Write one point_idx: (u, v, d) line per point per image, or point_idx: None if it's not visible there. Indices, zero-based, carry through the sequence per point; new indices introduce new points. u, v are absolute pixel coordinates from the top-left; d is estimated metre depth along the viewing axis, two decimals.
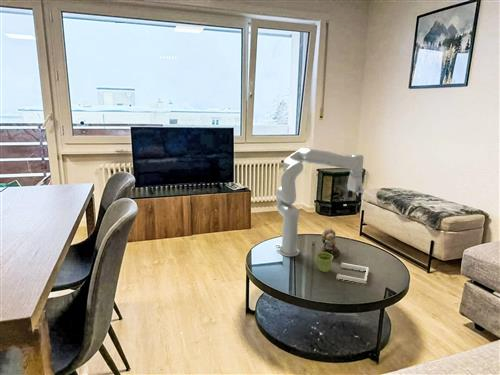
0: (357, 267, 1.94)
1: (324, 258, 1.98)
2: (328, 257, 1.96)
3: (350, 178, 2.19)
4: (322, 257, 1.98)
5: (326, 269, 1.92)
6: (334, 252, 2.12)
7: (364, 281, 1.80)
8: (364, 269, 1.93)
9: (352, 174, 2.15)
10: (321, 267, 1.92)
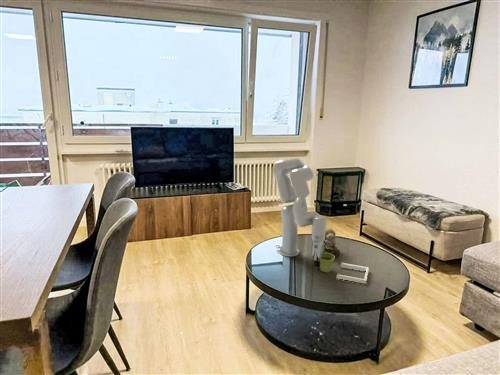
0: (357, 267, 1.94)
1: (326, 258, 1.97)
2: (330, 257, 1.96)
3: (322, 244, 1.90)
4: (324, 257, 1.97)
5: (328, 269, 1.92)
6: (334, 252, 2.12)
7: (364, 281, 1.80)
8: (364, 269, 1.93)
9: None
10: (323, 267, 1.92)
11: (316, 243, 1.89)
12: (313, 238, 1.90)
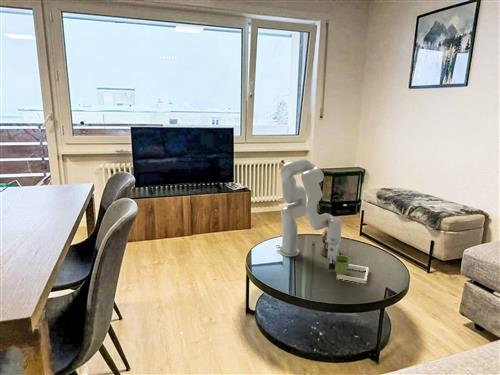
0: (357, 267, 1.94)
1: (341, 261, 1.94)
2: (345, 260, 1.93)
3: (337, 246, 1.87)
4: (339, 260, 1.94)
5: (343, 272, 1.88)
6: None
7: (364, 281, 1.80)
8: (364, 269, 1.93)
9: None
10: (338, 270, 1.89)
11: (332, 246, 1.85)
12: (329, 240, 1.87)
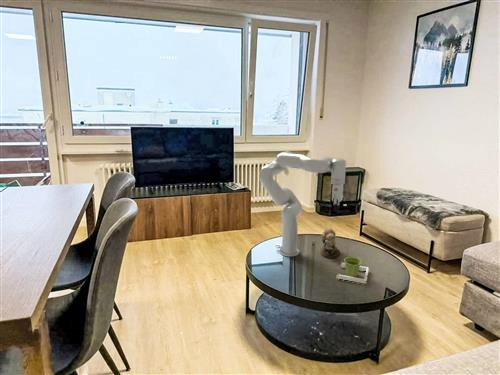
0: None
1: (352, 263, 1.92)
2: (356, 262, 1.90)
3: (342, 187, 1.90)
4: (350, 262, 1.92)
5: (354, 274, 1.86)
6: (334, 252, 2.12)
7: (364, 281, 1.80)
8: (364, 269, 1.93)
9: None
10: (349, 272, 1.87)
11: (336, 186, 1.88)
12: (333, 181, 1.90)
